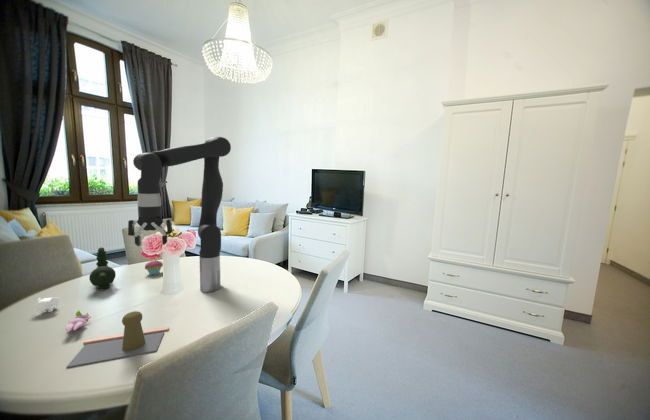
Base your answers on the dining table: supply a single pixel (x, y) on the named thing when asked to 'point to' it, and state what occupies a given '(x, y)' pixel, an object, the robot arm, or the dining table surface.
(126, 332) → the cork
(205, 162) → the robot arm
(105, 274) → the dark green rounded piece
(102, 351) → the mat
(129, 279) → the dining table surface
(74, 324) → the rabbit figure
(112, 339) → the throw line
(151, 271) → the cupcake
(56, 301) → the elephant figurine
